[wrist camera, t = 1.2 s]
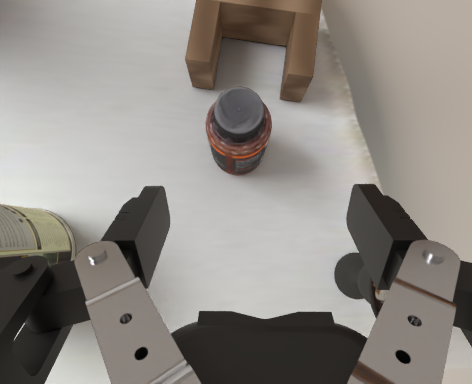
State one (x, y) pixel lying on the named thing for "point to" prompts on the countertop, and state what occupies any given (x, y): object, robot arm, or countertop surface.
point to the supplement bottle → (238, 130)
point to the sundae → (358, 281)
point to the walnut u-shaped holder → (256, 37)
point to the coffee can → (33, 236)
